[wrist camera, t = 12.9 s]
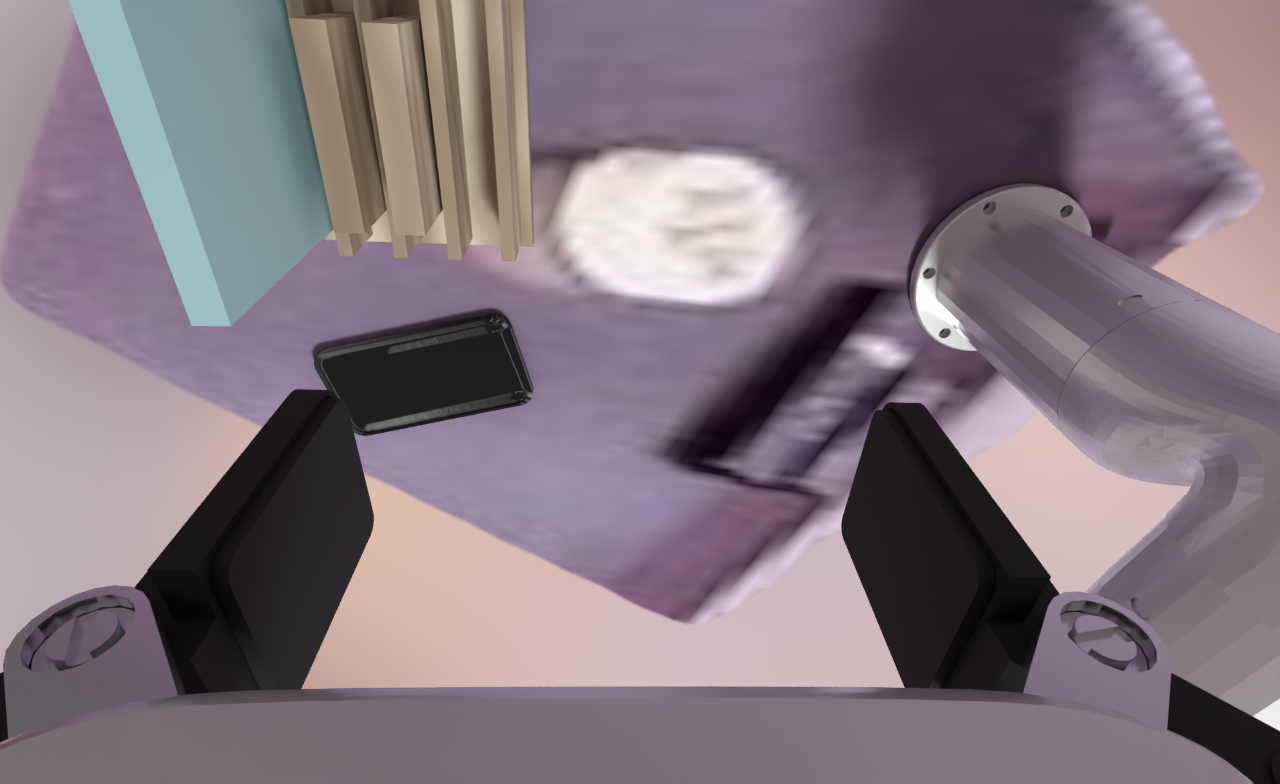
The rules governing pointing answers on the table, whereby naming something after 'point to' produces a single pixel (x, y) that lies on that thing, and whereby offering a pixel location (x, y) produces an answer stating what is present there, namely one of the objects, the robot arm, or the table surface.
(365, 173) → the offcut
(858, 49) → the table surface
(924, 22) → the table surface
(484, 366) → the phone
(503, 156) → the rack
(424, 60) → the offcut
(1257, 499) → the robot arm
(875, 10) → the table surface
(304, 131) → the tall sheet
